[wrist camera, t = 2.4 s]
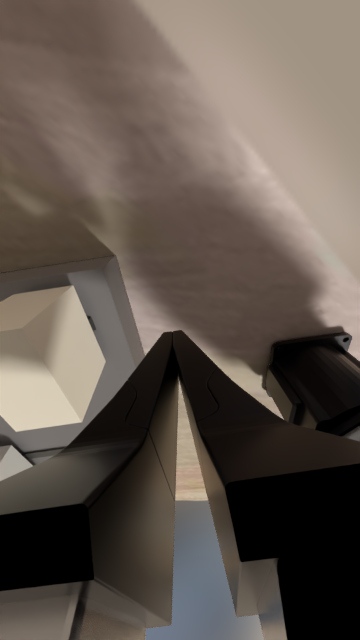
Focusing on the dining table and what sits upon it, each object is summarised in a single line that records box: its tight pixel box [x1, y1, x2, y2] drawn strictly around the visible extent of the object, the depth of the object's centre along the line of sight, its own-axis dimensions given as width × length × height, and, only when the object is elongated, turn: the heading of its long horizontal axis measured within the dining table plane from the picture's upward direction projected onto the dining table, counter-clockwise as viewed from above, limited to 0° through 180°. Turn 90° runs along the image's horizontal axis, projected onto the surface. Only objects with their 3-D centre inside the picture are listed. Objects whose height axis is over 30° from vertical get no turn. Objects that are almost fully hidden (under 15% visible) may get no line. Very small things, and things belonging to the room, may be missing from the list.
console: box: [0, 255, 145, 466], centre depth 16 cm, size 16×18×3 cm
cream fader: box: [0, 285, 106, 432], centre depth 9 cm, size 3×5×4 cm, turn 8°
